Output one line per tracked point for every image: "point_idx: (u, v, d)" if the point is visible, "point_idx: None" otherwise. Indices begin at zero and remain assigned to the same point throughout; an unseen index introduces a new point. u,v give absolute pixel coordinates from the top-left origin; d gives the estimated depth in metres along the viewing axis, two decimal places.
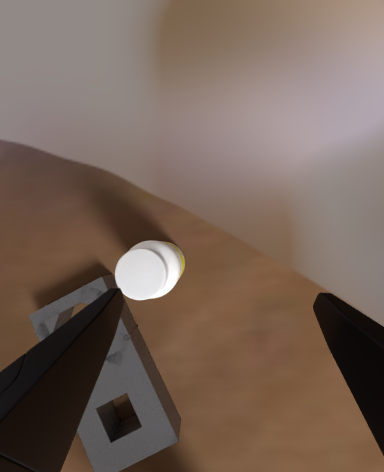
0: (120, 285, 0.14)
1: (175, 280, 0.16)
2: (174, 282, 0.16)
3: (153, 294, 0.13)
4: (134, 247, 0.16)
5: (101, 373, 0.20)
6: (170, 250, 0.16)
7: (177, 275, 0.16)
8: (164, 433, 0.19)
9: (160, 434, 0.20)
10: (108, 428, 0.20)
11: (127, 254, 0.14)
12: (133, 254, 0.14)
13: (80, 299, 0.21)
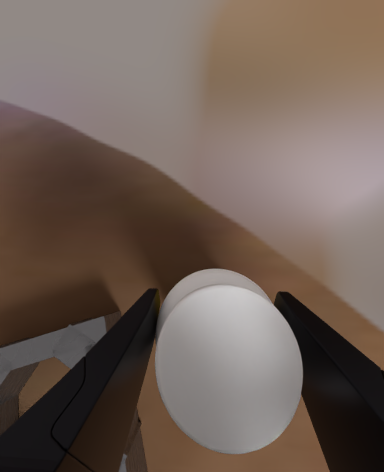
0: (166, 384, 0.05)
1: None
2: None
3: (262, 441, 0.04)
4: (194, 277, 0.08)
5: None
6: (269, 299, 0.07)
7: None
8: None
9: None
10: None
11: (200, 295, 0.05)
12: (217, 298, 0.05)
13: (55, 351, 0.12)
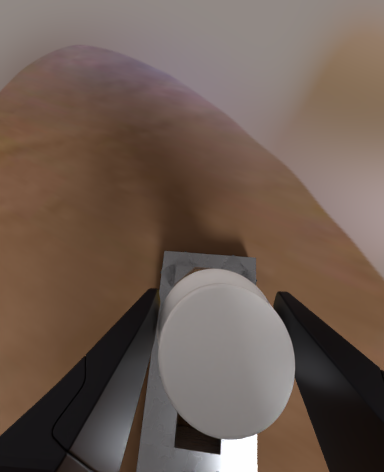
0: (168, 377, 0.05)
1: None
2: None
3: (257, 428, 0.05)
4: (194, 277, 0.08)
5: None
6: (265, 298, 0.08)
7: None
8: None
9: None
10: (176, 426, 0.16)
11: (200, 293, 0.06)
12: (216, 297, 0.05)
13: (223, 267, 0.19)
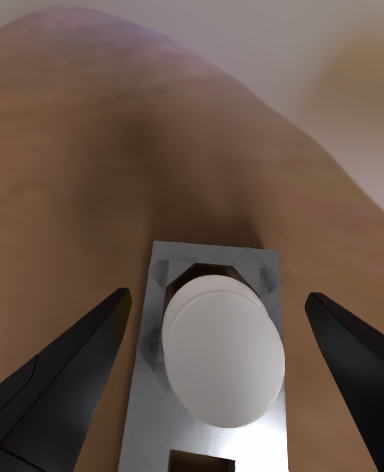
0: (173, 374, 0.06)
1: None
2: None
3: (251, 418, 0.05)
4: (195, 283, 0.09)
5: None
6: (261, 302, 0.09)
7: None
8: None
9: None
10: None
11: (201, 300, 0.06)
12: (215, 303, 0.06)
13: (234, 262, 0.14)
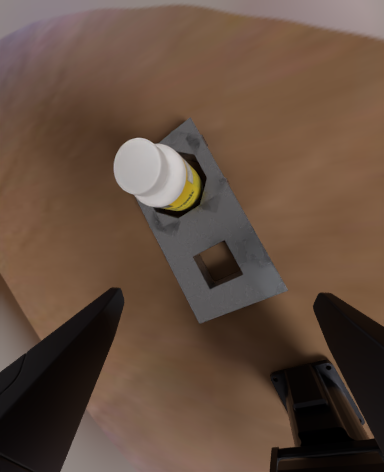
0: (124, 186, 0.13)
1: (182, 171, 0.14)
2: (181, 174, 0.14)
3: (155, 178, 0.12)
4: None
5: (196, 222, 0.19)
6: (164, 145, 0.15)
7: (182, 166, 0.14)
8: (270, 281, 0.17)
9: (265, 282, 0.17)
10: (205, 278, 0.20)
11: (118, 154, 0.13)
12: (122, 150, 0.13)
13: None
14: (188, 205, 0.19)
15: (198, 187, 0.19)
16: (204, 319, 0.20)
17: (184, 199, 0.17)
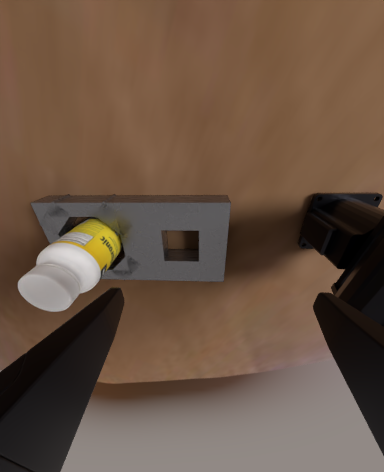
0: (60, 309, 0.14)
1: (71, 251, 0.15)
2: (73, 252, 0.15)
3: (60, 286, 0.13)
4: None
5: (134, 244, 0.20)
6: (40, 253, 0.15)
7: (66, 248, 0.15)
8: (215, 213, 0.17)
9: (214, 217, 0.18)
10: (189, 258, 0.21)
11: (30, 301, 0.14)
12: (27, 297, 0.14)
13: (55, 232, 0.19)
14: (117, 243, 0.20)
15: (103, 227, 0.19)
16: (221, 276, 0.21)
17: (104, 251, 0.17)
